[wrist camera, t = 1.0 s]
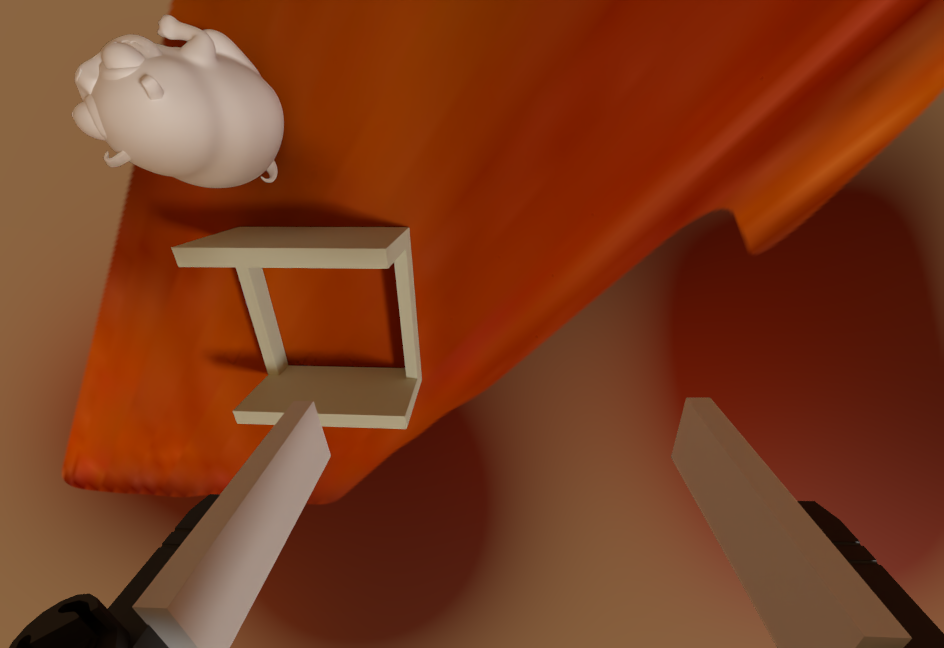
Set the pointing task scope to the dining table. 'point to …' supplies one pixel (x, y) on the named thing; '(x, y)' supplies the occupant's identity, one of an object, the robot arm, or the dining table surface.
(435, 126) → the dining table surface
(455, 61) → the dining table surface
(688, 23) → the dining table surface
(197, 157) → the figurine
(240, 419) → the beige open frame
